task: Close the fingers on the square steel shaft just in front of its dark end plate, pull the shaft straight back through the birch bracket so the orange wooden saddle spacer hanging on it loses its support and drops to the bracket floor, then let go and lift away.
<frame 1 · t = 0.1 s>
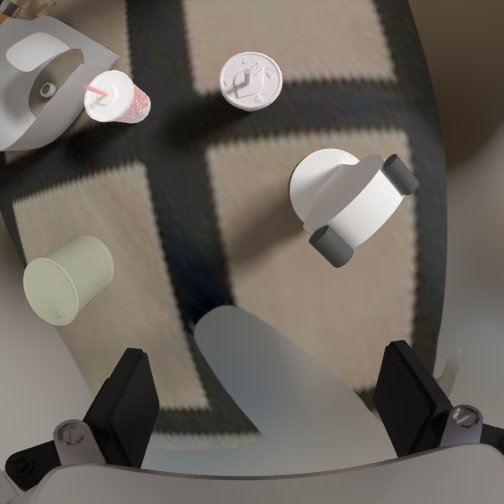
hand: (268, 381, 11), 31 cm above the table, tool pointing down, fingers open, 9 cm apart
can: (89, 263, 43), on the table
beverage cup: (135, 107, 36), on the table
bracket: (31, 17, 30), on the table
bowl: (54, 89, 35), on the table
spacer: (6, 29, 27), point 4 cm above the table, touching shaft
smoothie: (250, 98, 37), on the table
panda figurine: (329, 192, 40), on the table
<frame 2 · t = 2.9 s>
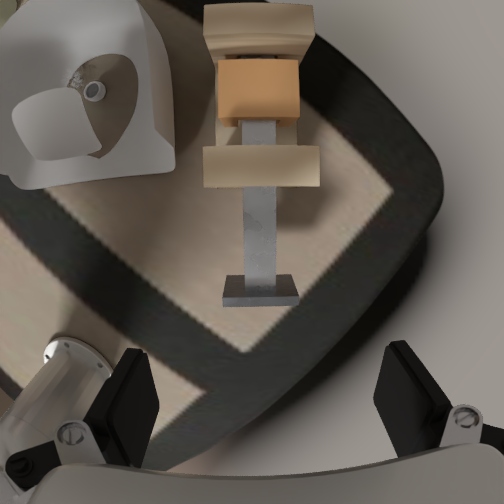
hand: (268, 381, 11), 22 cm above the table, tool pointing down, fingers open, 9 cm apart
shaft: (258, 160, 24), point 7 cm above the table, slide at 0.0 cm, touching spacer
bracket: (256, 145, 30), on the table
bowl: (100, 96, 28), on the table
spacer: (256, 102, 25), point 4 cm above the table, touching shaft
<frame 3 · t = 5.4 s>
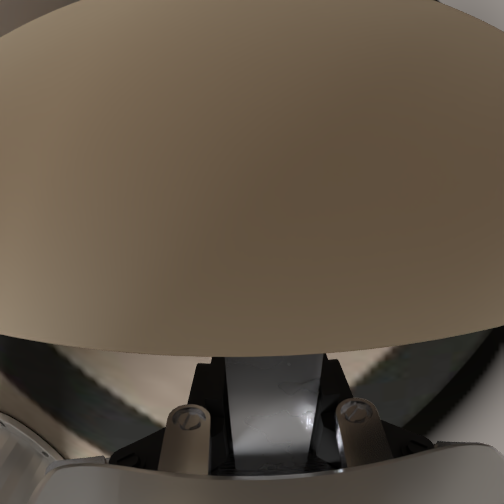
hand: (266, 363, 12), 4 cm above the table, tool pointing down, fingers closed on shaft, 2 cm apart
shaft: (271, 147, 7), point 7 cm above the table, slide at 0.0 cm, touching gripper, spacer
bracket: (260, 120, 14), on the table
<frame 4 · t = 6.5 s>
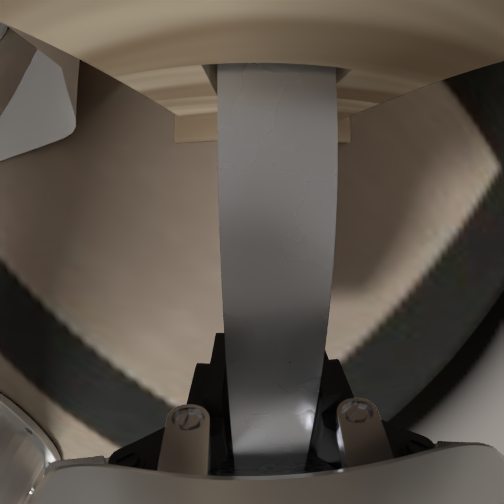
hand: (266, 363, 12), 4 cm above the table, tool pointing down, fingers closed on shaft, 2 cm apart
shaft: (274, 145, 7), point 7 cm above the table, slide at 3.3 cm, touching gripper
bracket: (261, 57, 13), on the table
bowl: (2, 36, 11), on the table
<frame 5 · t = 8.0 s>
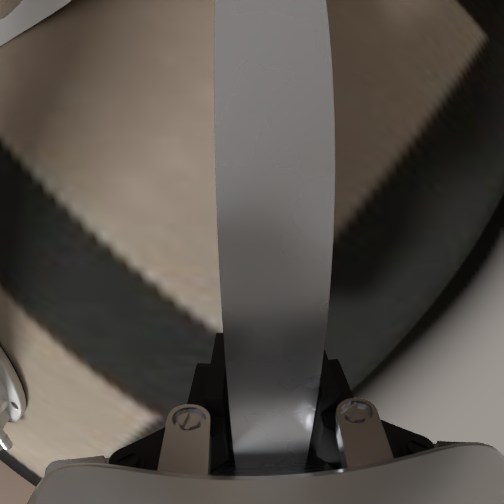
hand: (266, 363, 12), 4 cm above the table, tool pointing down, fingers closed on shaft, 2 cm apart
shaft: (271, 142, 7), point 7 cm above the table, slide at 12.2 cm, touching gripper
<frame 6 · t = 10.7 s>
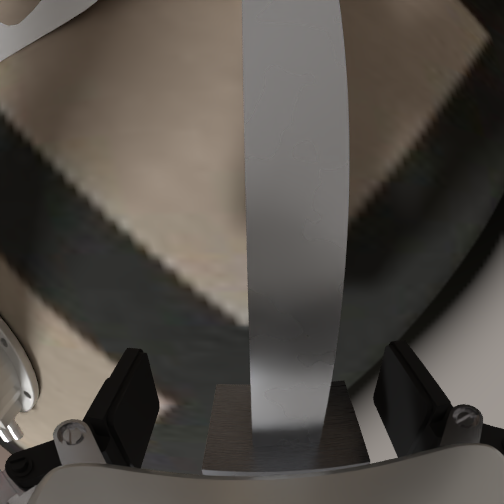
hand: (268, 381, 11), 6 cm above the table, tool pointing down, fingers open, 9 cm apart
shaft: (292, 138, 8), point 7 cm above the table, slide at 12.4 cm
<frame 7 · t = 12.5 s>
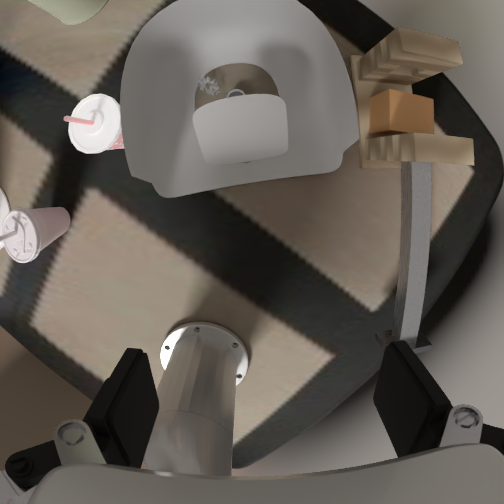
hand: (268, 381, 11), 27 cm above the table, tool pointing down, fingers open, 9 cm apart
shaft: (413, 259, 31), point 7 cm above the table, slide at 12.4 cm
can: (85, 0, 27), on the table
beverage cup: (127, 130, 34), on the table
bracket: (387, 134, 34), on the table
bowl: (237, 104, 33), on the table
spacer: (390, 119, 32), point 1 cm above the table, touching bracket
smoothie: (61, 219, 37), on the table
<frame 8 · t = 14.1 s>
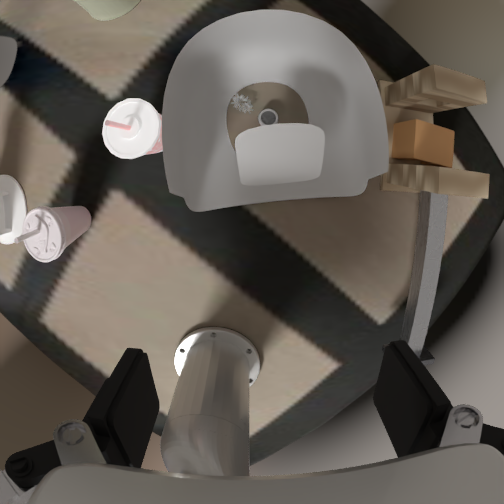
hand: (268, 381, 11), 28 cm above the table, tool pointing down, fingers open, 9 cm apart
shaft: (424, 279, 33), point 7 cm above the table, slide at 12.4 cm
beverage cup: (156, 135, 35), on the table
bracket: (407, 159, 36), on the table
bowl: (267, 123, 35), on the table
spacer: (411, 144, 34), point 1 cm above the table, touching bracket
smoothie: (81, 218, 38), on the table
panda figurine: (5, 207, 37), on the table
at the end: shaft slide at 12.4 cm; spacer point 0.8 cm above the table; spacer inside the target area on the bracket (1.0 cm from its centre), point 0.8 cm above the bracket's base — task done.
